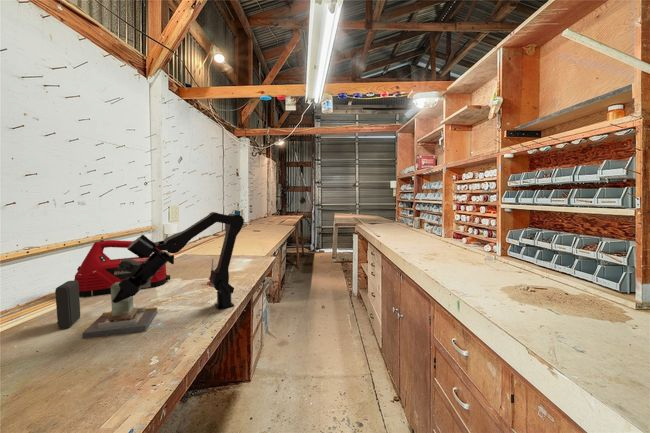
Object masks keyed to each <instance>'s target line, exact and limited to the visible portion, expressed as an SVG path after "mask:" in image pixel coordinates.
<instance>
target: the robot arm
mask: <svg viewBox="0 0 650 433" xmlns="http://www.w3.org/2000/svg"><path fill="white" fill-rule="evenodd" d="M216 223H221V224H224V230H225V231H224V232H225V234H224V239H223V243H222V247H221V251H220V255H219V259H218V263H217V266H216V268H214V270H212V269H211V270H210V275H209V277H208V280H209V281H210V284H211V285H212V288H214V289H215V290H216V291H217V292H216V299H217V300H216V303H214V306H215V307H216V308H217V310H223V309H227V308H232V307H235V303H233V302H232V294H234V290H235V287H234V286H232V285H231V284H230V273H229V268H230V264H231V259H232V256H233V251H234V247H235V243H236V239H237V236H238V234H239V233H240V231H241V230H242V229H243V226H244V224H245V220H244V217H243V216H242V215H240V214H236V213H229V214H223V213H219V212H215V211H212V212H210V213H208V215H206V216H205V217H203V218H201V219H200V220H198V221H197V222H195V223H194V224H192V225H191V226H189V227H187V228H186V229H184V230H182V231H179V232H176V233H174V234H171V235H170V236H167V237H165V238H164V239H163V240H160V241H155V243H154V241H152V239H149V238H148V237H147V236H146V235H145V234H141V235H140V236H139V237H137V238H136V239H135V240H132V241H133V242H132V243H131V244H130V246H129V247H128V248H126V249H127V250H128V251H129V252H131V253H132V254H134V255H136V257H140V258H144V257H145V258H148V257H149V256H150V257H149V258H148V259H147V260H146V261H144V262H143V263H139V262H137V261H134V260H131V259H128V258H129V257H124V259H122V258H121V259H122V260H121V262H120V263H119V264H118V269H119V270H124V271H127V272H131V273H130V275H131V276H132V277H126V278H125V279H123V280H122V281H121V282H120V283H119V287H120V291H119V292H118V294H117V295H116V297H115V298H114V300H113V302H114V303H117V302H119V301H122V300H124V299H126V298H129V297H131V296H133V297H134V296H136V295H137V294H138V293H139V292H140V291H141V290H142V289H141V288H142V287H141V286H142V285H144V284H146V283H147V282H148V281H149V280H150V279H151V278H152V277H153V276H154V275H155V274H156V273H157V272H158V271H159V270H160V269H161V268H162V267H163V266H164V265H165V264H167V263H168V262H169V263H170V264H171V265H174V264H175V255H173V254H176V253H179V252H181V250H182V249H184V247H186V246H187V245H188V243H189V242H190V241H191V240H192V239H194V238H195V237H196V236H198V235H200V234H201V233H203V231H205V230H207V229H209V228H210V227H212V226H214V224H216ZM156 248H158V249H159V250H161V251H163V252H161V251H159V250H158V249H156ZM169 253H170V254H169ZM210 284H209V285H210ZM211 285H210V286H211ZM140 289H141V290H140Z"/></svg>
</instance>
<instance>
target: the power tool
mask: <svg viewBox="0 0 650 433" xmlns="http://www.w3.org/2000/svg"><path fill="white" fill-rule="evenodd" d="M133 241H134V240H114V239H108V240H106V239H105V240H104V239H100V240H99V241H94V243H93V244H92V246H91V248H90V249H89V251H88V253H87V255H86V256H85V258H84V259H83V261H82V262H81V265H80V266H78V268H77V269H76V270H77V271H76V272H75V274H74V280H76V281H78V283H79V298H80V297H81V298H90V297H98V296H105V295H111V286H112V285H113V284H114V283H116V282H121V281H122V280H123V279H125V278H126V277H132V276H131V275H130V273H131V272H127V271H124V270H119V269H118V264H119V263H120V262H121V260H122V259H124V258H125V257H124V258H115V259H111V258H110V257H108V255H107V254H106V253H104V250H105V248H106V249H107V248H118V249H119V248H121V249H127V248H128V247H129V246H130V244H131V243H132V242H133ZM153 242H154V241H153ZM155 242H156V241H155ZM155 242H154V243H155ZM156 249H158V248H156ZM158 250H159V249H158ZM159 251H161V250H159ZM161 252H163V251H161ZM150 256H151V255H150ZM150 256H149V257H150ZM149 257H148V258H149ZM127 258H128V259H131V260H134V261H137V262H139V263H143V262H144V261H146V260H147V259H148V258H145V257H144V258H140V257H139V256H135V257H133V256H132V257H127ZM166 264H167V263H166ZM166 264H165V265H164V266H163V267H162V268H161V269H160V270H159V271H158V272H157V273H156V274H155V275H154V276H153V277H152V278H151V279H150V280H149V281H148V282H147V283H146V284H144V285H142V286H141V287H142V288H141V289H140V291H142V290H147V289H155V288H159V287H161V286H164V285H165V284H166V283H167V282H168V281H170V280H171V275H170V274H168V273H167V265H166ZM74 280H73V281H74Z"/></svg>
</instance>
